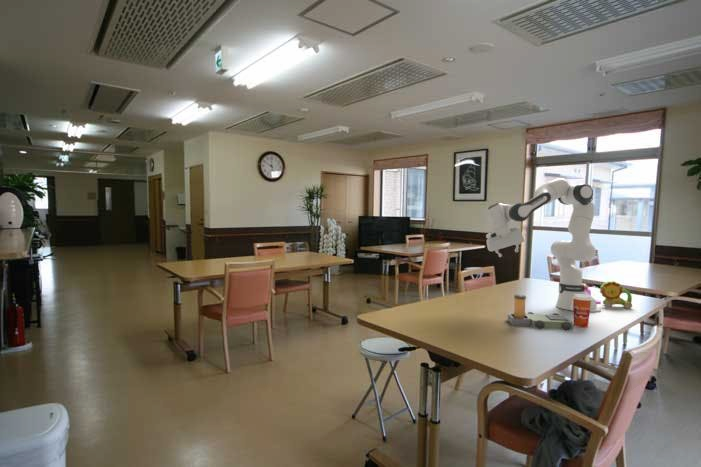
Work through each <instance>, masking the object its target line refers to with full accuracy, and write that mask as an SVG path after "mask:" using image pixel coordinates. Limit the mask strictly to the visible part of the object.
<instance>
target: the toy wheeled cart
mask: <svg viewBox="0 0 701 467" xmlns="http://www.w3.org/2000/svg"><path fill="white" fill-rule="evenodd" d="M525 314H526V315H528V316H529V317H530V318H531V319H532V324H531V326H530V327H531V328H533V329H538V330H542V329H546V330H547V329H549V330H550V329H552V330H564V331H567V330H568V331H573V330H574V321H571V320H570V319H568V318H567V317H566V316H565V315H561V314H558V313H556V312H554V313H552V314H544V313H543V314H542V313H534V312H532V311H528V312H527V313H526V312H525Z"/></svg>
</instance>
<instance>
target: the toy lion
mask: <svg viewBox="0 0 701 467" xmlns="http://www.w3.org/2000/svg"><path fill="white" fill-rule="evenodd" d="M599 292H600V294H601V296H602V297H603V298H605V299H603V301H602V304H603V305H604V306H606V307H607V308H611V307H612V306H614V305H621V306H622V307H624V308H626V309H631V308H632V307H633V304H632V301H633V300H632V299H633V298H632V297H633V296H632V293H630V291H628V290H627V289H625V288H624V287H623V286H622V285H621V284H620V283H619V282H616V281H614V280H612V281H606V282H602V285H600V290H599ZM622 294H626V295H627V298H626V300H625V299H624V298H622V297H620V296H621V295H622Z"/></svg>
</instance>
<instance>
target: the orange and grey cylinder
mask: <svg viewBox="0 0 701 467" xmlns="http://www.w3.org/2000/svg"><path fill="white" fill-rule="evenodd" d="M513 299H514V300H513V301H514V305H513V314H514V318H523V319H525V313H526V299H527V296H526V295H523V294H514V295H513Z"/></svg>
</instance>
